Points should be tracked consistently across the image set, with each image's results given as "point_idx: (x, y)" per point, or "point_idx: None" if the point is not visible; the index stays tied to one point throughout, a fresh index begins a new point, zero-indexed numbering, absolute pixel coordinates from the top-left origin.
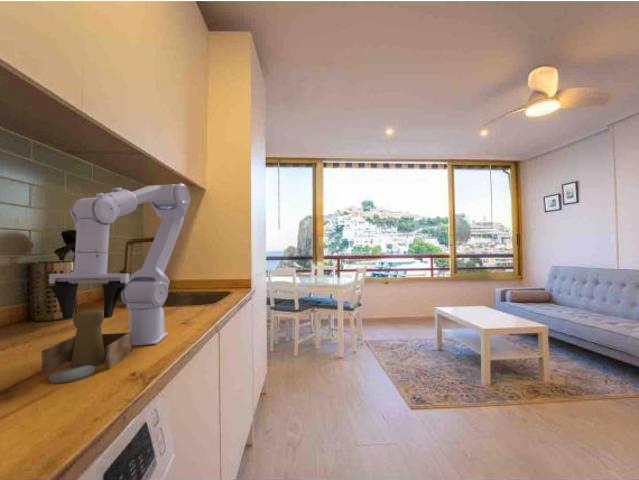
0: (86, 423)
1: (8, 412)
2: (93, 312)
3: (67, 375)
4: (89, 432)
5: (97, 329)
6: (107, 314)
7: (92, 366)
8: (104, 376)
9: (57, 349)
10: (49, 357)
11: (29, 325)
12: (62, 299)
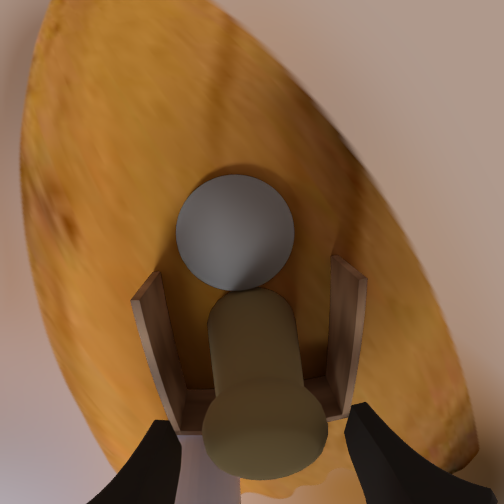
0: (66, 16)
1: (239, 29)
2: (229, 451)
3: (232, 207)
4: (56, 3)
5: (216, 393)
6: (147, 431)
7: (202, 277)
8: (132, 215)
9: (347, 334)
10: (345, 292)
11: (458, 461)
12: (408, 474)
